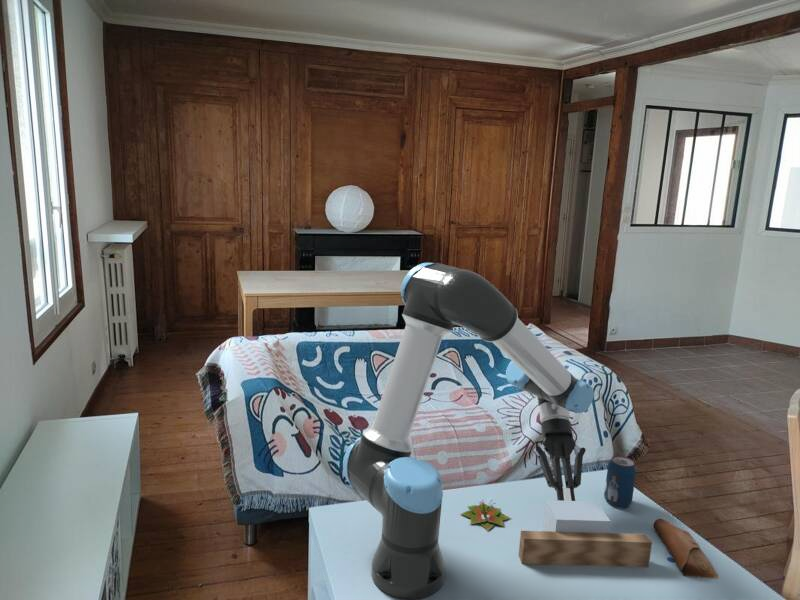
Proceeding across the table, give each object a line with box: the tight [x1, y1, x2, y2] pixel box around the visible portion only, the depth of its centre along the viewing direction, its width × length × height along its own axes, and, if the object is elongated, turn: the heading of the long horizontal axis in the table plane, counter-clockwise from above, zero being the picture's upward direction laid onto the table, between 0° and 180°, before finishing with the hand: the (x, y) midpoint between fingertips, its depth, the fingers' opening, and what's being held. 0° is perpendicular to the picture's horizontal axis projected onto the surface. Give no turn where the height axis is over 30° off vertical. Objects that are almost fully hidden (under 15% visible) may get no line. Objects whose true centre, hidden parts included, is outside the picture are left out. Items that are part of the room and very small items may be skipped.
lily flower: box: [460, 499, 511, 532], centre depth 141 cm, size 12×12×5 cm
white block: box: [542, 499, 611, 533], centre depth 131 cm, size 12×8×9 cm, turn 92°
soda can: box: [603, 455, 637, 509], centre depth 150 cm, size 7×7×12 cm
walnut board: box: [518, 530, 653, 568], centre depth 126 cm, size 28×3×6 cm, turn 92°
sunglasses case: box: [652, 517, 719, 579], centre depth 131 cm, size 18×7×7 cm, turn 176°
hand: (568, 517), depth 136 cm, fingers closed
